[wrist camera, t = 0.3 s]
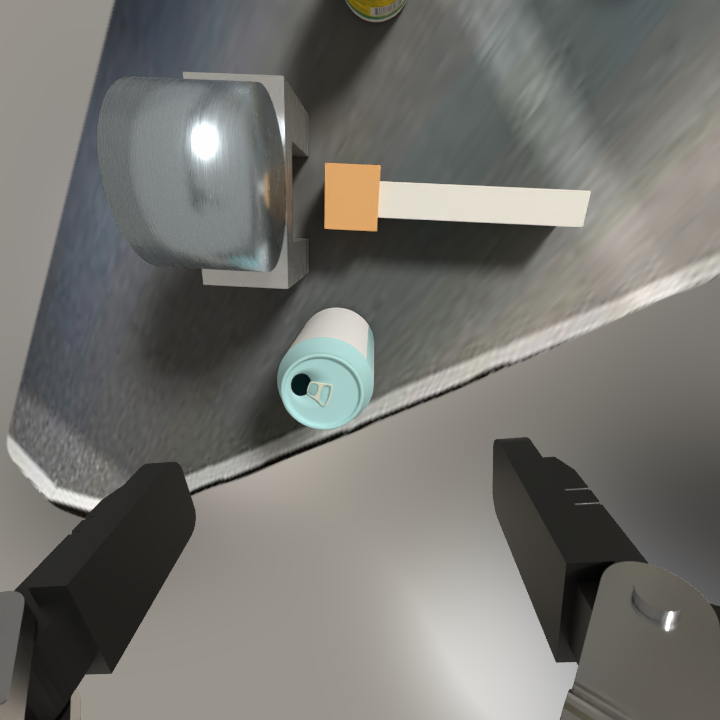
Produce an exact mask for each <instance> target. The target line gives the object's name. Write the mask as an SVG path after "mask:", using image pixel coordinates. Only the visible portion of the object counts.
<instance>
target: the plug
mask: <svg viewBox="0 0 720 720" xmlns="http://www.w3.org/2000/svg"><path fill="white" fill-rule="evenodd" d="M380 168H381V165H359V164H337V163H325V229H339V230H360V231H377V221H378V218H395V219H416V220H437V221H458V222H479V223H500V224H521V225H542V226H566V227H583V223H584V219H585V215H586V210H587V206H588V202H589V197H590V193H591V191H580V190H558V189H536V188H514V187H492V186H470V185H448V184H426V183H404V182H382V181H380Z"/></svg>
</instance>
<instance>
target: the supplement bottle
mask: <svg viewBox="0 0 720 720" xmlns="http://www.w3.org/2000/svg"><path fill="white" fill-rule="evenodd" d="M346 2H347V4H348V6H349V7H350V9H351V10H352V11H353V12H354V13H355V14H356V15H357V16H359V17H360V18H362V19H364V20H366V21H369V22H382V21H386V20H388V19H390V18H392V17H394V16H395V15H396V14H397V13H399V12H400V10H401V9H402V8H403V7H404V5H405V4H406V2H407V0H346Z"/></svg>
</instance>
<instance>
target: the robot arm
mask: <svg viewBox="0 0 720 720" xmlns="http://www.w3.org/2000/svg"><path fill="white" fill-rule="evenodd" d="M493 500H494V506H495V511H496V514H497V518H498V520H499V523H500V525H501V528H502V530H503V533H504V535H505V538H506V540H507V542H508V545H509V547H510V550H511V552H512V555H513V557H514V560H515V562H516V565H517V567H518V569H519V572H520V575H521V577H522V580H523V582H524V584H525V587H526V589H527V592H528V594H529V597H530V599H531V601H532V604H533V606H534V609H535V612H536V614H537V616H538V619H539V621H540V624H541V626H542V629H543V631H544V634H545V636H546V639H547V641H548V644H549V646H550V648H551V651H552V653H553V656H554V658H555V661H556V662H577V664H578V669H577V673H576V677H575V681H574V684H573V687H572V690H571V689H570V690H569V691H568V694H567V697H566V700H565V704H564V707H563V711H562V714H561V717H560V720H720V606H716V605H713V604H710V603H709V602H708V601H707V600H706V599H705V597H703V595H702V594H701V593H700V592H698V591H697V590H696V589H695V588H694V587H693V586H691V585H690V584H689V583H688V582H686V581H685V580H683V579H681V578H680V577H678V576H676V575H675V574H673V573H671V572H669V571H667V570H664V569H662V568H660V567H657V566H654V565H651V564H648V562H647V561H646V560H645V558H644V557H643V556H642V555H641V554H640V552H639V551H638V549H637V548H636V547H635V546H634V545H633V543H632V542H631V541H630V539H629V538H628V537H627V536H626V534H625V533H624V532H623V531H622V529H621V528H620V527H619V525H618V524H617V523H616V522H615V521H614V519H613V518H612V517H611V515H610V514H609V513H608V511H607V510H606V509H605V508H604V506H603V505H600V503H599V500H598V499H597V498H596V496H595V495H594V494H593V493H592V491H591V490H588V486H587V485H586V484H585V483H584V481H583V480H582V478H581V477H580V476H579V475H578V474H577V472H576V471H575V470H574V469H572V468H571V467H569V466H568V465H566V464H565V463H563V462H562V461H560V460H559V459H557V458H556V457H544V458H543V457H542V456H541V454H540V453H539V452H538V450H537V449H536V448H535V446H534V445H533V443H532V442H531V440H530V439H529V438H527V437H522V438H508V439H496V440H495V441H494V445H493ZM195 521H196V513H195V508H194V505H193V502H192V498H191V495H190V492H189V489H188V486H187V483H186V480H185V477H184V474H183V470H182V468H181V466H180V465H179V464H178V463H177V462H165V463H151V464H145V465H143V466H142V467H140V468H139V470H138V471H137V472H136V473H135V474H134V475H133V476H132V477H131V478H130V479H129V480H128V481H127V482H126V483H125V484H124V485H123V486H122V487H120V488H119V489H117V490H116V491H114V492H113V493H111V494H110V495H109V496H107V497H106V498H104V499H103V500H101V502H100V503H99V504H98V505H97V506H96V507H95V508H94V509H93V510H92V511H91V512H90V513H89V514H88V515H87V516H86V519H85V520H82V521H81V522H80V523H79V524H78V525H77V527H75V528H74V529H73V531H72V534H71V535H68V536H67V537H66V538H65V539H64V540H63V541H62V542H61V543H60V544H59V545H58V546H57V547H56V548H55V549H54V550H53V551H52V552H51V553H50V554H49V555H48V556H47V557H46V558H45V559H44V560H43V562H42V563H41V564H40V565H39V566H38V567H37V568H36V569H35V570H34V571H33V572H32V573H31V574H30V575H29V576H28V577H27V578H26V579H25V580H24V581H23V582H22V583H21V584H20V585H19V586H18V587H17V588H16V589H15V590H14V591H6V592H0V720H81V700H80V695H79V693H78V691H77V689H76V688H77V686H78V685H79V683H80V682H81V680H82V678H83V677H84V675H85V674H111V673H112V672H113V670H114V668H115V667H116V665H117V663H118V662H119V660H120V658H121V656H122V655H123V653H124V651H125V650H126V648H127V646H128V644H129V643H130V641H131V639H132V637H133V636H134V634H135V632H136V631H137V629H138V627H139V625H140V624H141V622H142V620H143V618H144V617H145V615H146V613H147V611H148V609H149V608H150V606H151V605H152V603H153V601H154V599H155V598H156V596H157V594H158V592H159V590H160V589H161V587H162V585H163V584H164V582H165V580H166V579H167V577H168V575H169V573H170V571H171V570H172V568H173V567H174V565H175V563H176V561H177V560H178V558H179V556H180V554H181V553H182V551H183V549H184V548H185V546H186V544H187V542H188V541H189V539H190V537H191V535H192V533H193V530H194V527H195Z"/></svg>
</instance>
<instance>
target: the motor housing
mask: <svg viewBox="0 0 720 720" xmlns="http://www.w3.org/2000/svg"><path fill="white" fill-rule="evenodd" d="M97 149H98V160H99V168H100V174H101V178H102V183H103V187H104V191H105V194H106V198H107V201H108V204H109V206H110V209H111V212H112V214H113V217H114V219H115V221H116V223H117V225H118V227H119V229H120V231H121V232H122V234H123V236H124V238H125V239H126V240H127V242H128V243H129V245H130V246H131V247H132V248H133V250H134V251H135V252H136V253H137V254H138V255H139V256H140V257H141V258H142V259H144V260H145V261H147V262H148V263H150V264H152V265H155V266H159V267H172V268H192V269H202V277H203V285H220V286H240V287H259V288H279V289H289V288H290V287H291V286H293V285H294V284H295V283H296V282H298V281H299V280H300V279H301V278H303V277H304V276H305V275H306V274H308V273H309V238H293V197H292V156H301V157H309V115H308V113H307V112H306V110H305V108H304V107H303V105H302V104H301V102H300V101H299V99H298V97H297V96H296V94H295V93H294V91H293V90H292V88H291V86H290V85H289V83H288V82H287V80H286V79H285V77H284V76H274V75H249V74H224V73H199V72H183V79H180V78H155V77H123V78H121V79H118V80H117V81H116V82H114V83H113V84H112V85H111V87H110V88H109V89H108V91H107V92H106V95H105V97H104V99H103V102H102V105H101V109H100V113H99V119H98V128H97Z"/></svg>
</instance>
